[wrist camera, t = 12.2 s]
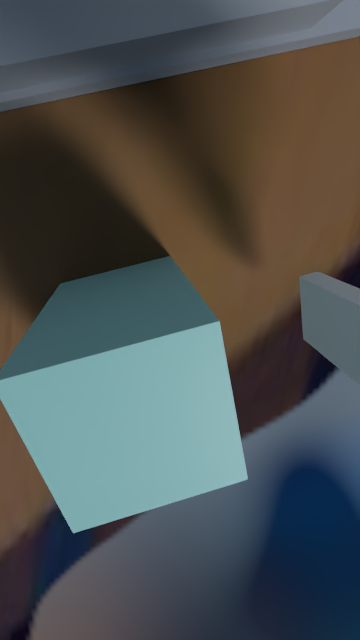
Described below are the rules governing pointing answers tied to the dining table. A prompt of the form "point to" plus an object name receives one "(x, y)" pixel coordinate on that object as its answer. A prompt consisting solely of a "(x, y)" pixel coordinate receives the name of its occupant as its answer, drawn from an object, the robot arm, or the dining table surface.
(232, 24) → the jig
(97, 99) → the dining table surface
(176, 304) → the block
